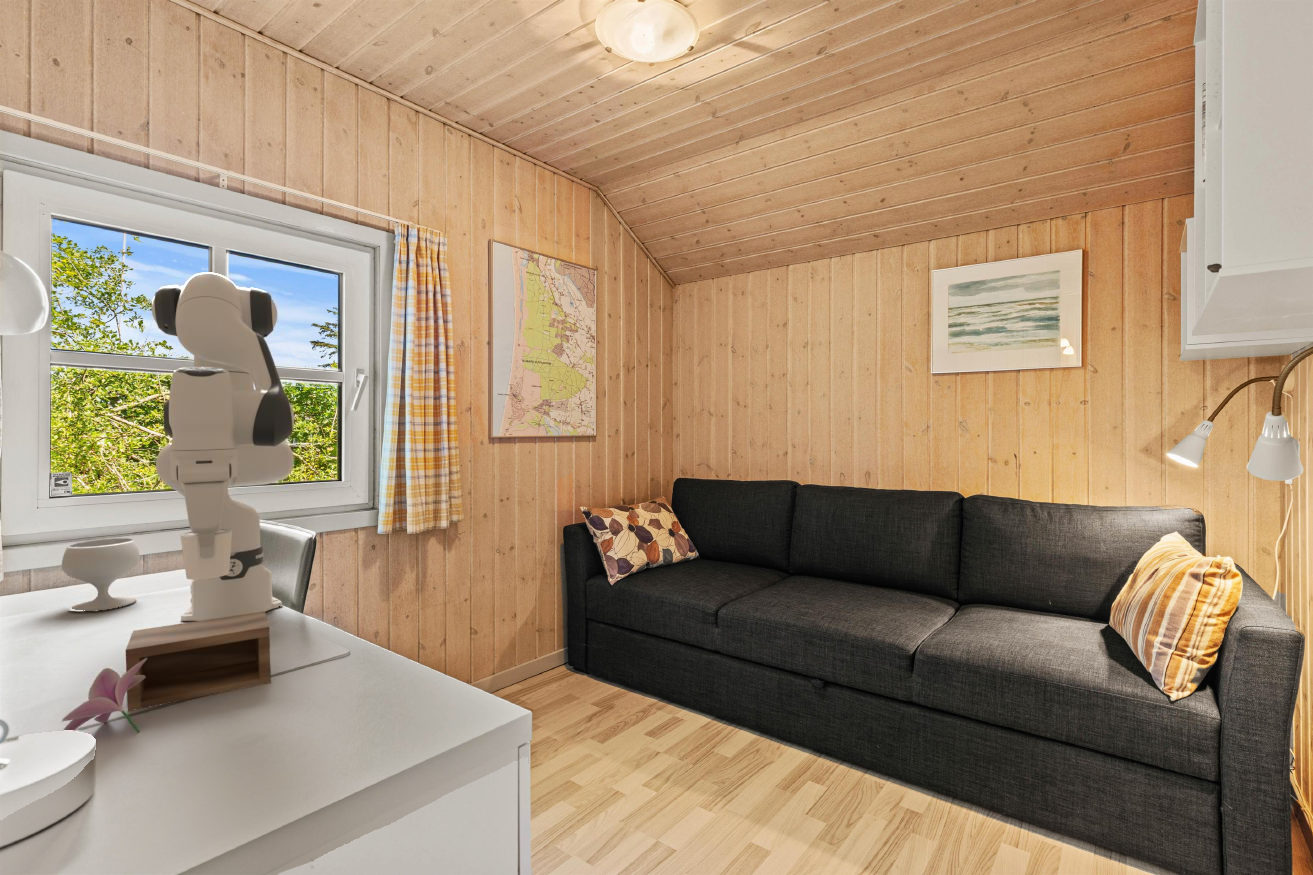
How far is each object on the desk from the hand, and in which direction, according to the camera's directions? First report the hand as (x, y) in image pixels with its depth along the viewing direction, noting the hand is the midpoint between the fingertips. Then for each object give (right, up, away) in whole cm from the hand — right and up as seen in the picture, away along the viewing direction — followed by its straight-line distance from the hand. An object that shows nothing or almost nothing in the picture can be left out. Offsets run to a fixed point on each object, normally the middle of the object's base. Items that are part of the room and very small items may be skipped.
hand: (207, 553), depth 106 cm
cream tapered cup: (0, -4, 0) cm, 4 cm away
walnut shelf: (-1, -21, 0) cm, 21 cm away
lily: (-2, -22, -16) cm, 27 cm away
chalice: (-57, -21, +48) cm, 78 cm away
